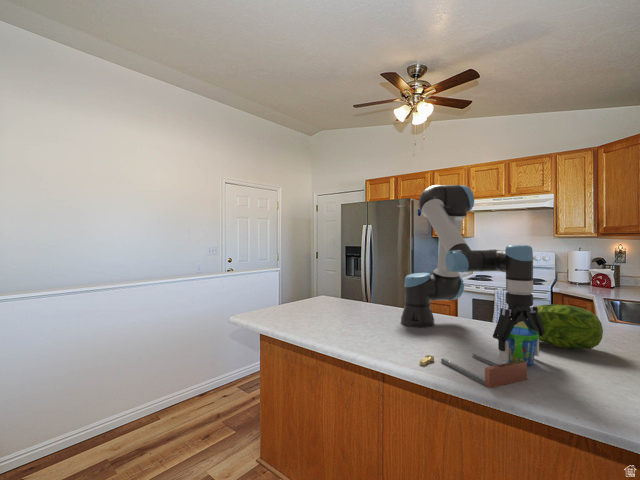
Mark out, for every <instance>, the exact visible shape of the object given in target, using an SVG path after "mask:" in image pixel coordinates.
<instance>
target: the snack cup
mask: <svg viewBox="0 0 640 480" xmlns="http://www.w3.org/2000/svg"><path fill="white" fill-rule="evenodd" d="M503 337H504V336H503ZM538 339H539V333H538V332H537V331H535V330H532V329H529V328H524V327H517V326H514V328H513V329H512V331H511V333H510V335H509V336H508V338H507V340H506V341H508V343H509V363H510V362H515V361H520V360H523V361H525V362H527V366H532V365H533V363H534V361H535V357H536V356H535V351H536V346H537V340H538Z"/></svg>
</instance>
